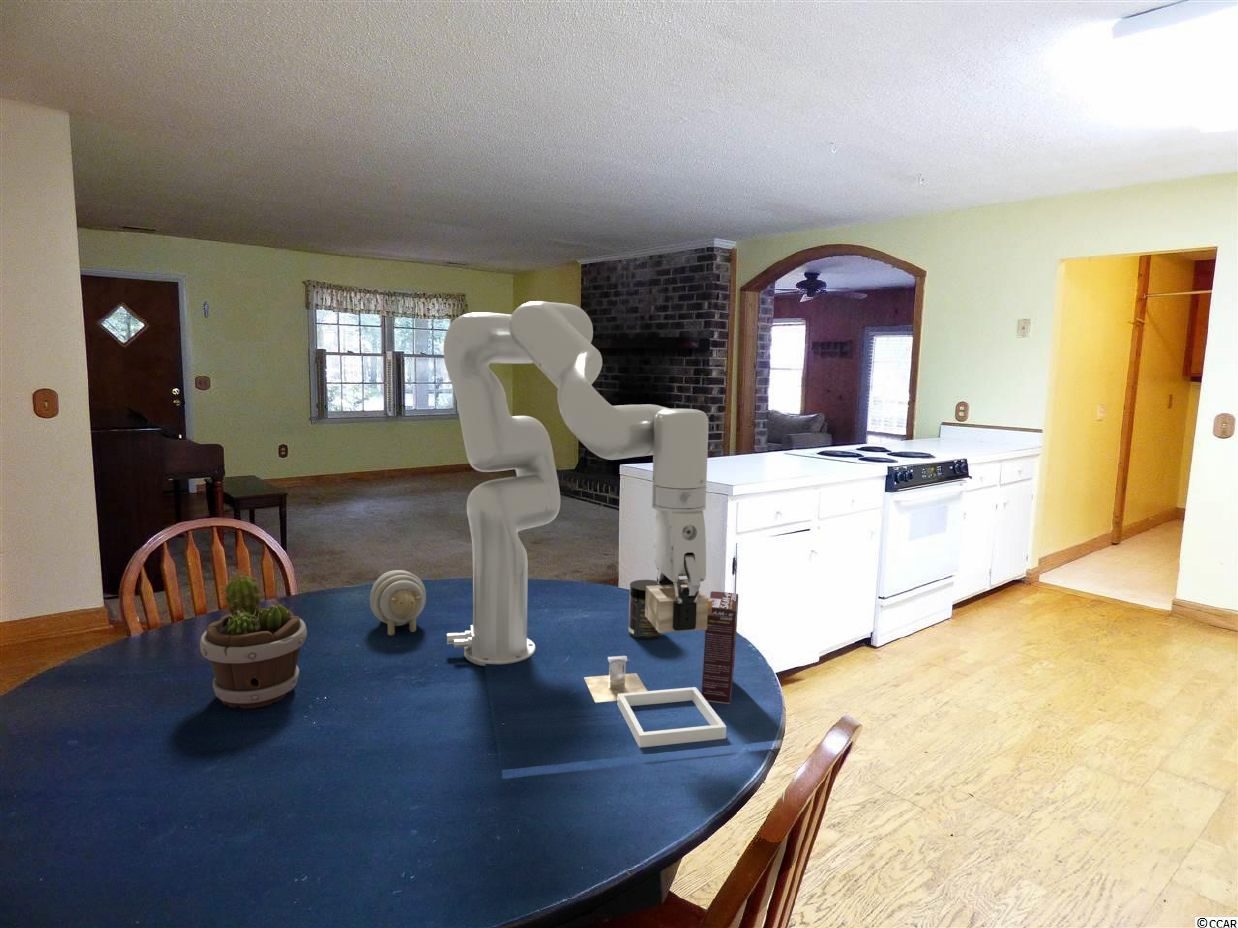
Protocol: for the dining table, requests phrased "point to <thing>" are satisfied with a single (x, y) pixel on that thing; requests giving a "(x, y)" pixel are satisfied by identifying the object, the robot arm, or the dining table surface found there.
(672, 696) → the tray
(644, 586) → the supplement container
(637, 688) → the square lid with knob
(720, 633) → the supplement box
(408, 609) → the toy sheep
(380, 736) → the dining table surface
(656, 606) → the collar
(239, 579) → the flowerpot
